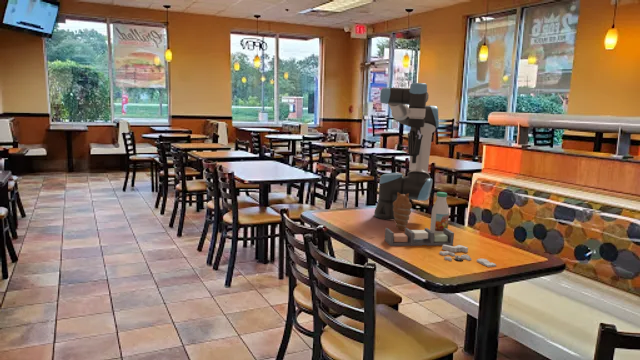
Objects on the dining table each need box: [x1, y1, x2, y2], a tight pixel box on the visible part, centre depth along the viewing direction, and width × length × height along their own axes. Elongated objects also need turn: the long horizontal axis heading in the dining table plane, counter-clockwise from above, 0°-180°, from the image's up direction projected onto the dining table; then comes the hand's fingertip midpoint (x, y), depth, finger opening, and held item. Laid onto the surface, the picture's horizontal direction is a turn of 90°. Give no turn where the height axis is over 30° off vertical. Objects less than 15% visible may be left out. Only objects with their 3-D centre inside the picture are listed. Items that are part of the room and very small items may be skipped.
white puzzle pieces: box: [438, 244, 497, 268], centre depth 183 cm, size 20×24×2 cm
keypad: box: [384, 227, 455, 247], centre depth 202 cm, size 8×28×6 cm, turn 99°
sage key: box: [434, 233, 448, 242], centre depth 203 cm, size 5×6×2 cm
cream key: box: [410, 229, 428, 239], centre depth 201 cm, size 5×6×2 cm
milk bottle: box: [429, 191, 450, 233], centre depth 214 cm, size 8×8×20 cm
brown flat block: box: [393, 232, 408, 242], centre depth 200 cm, size 5×6×2 cm
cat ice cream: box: [393, 193, 413, 231], centre depth 220 cm, size 9×8×18 cm
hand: (412, 170), depth 214 cm, fingers closed
